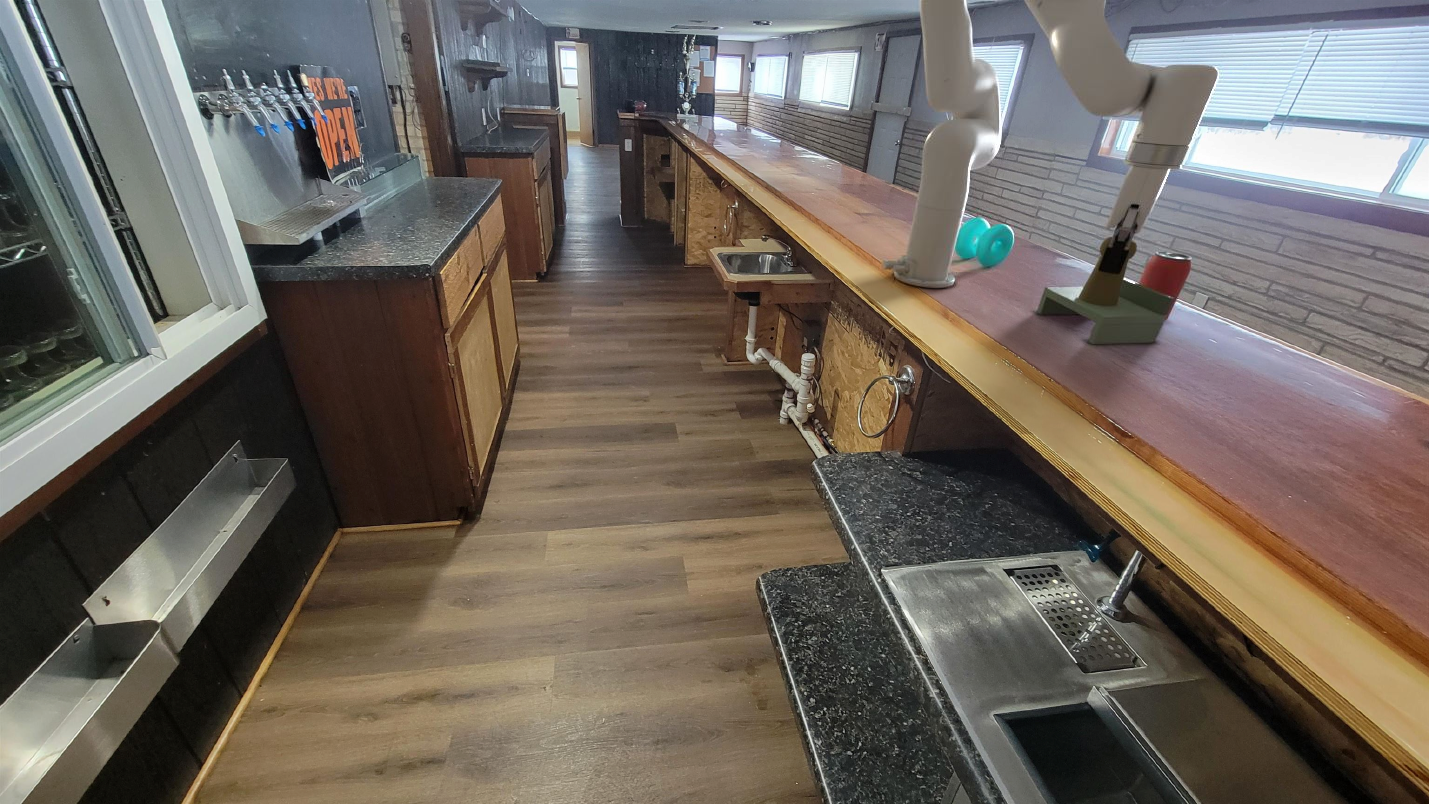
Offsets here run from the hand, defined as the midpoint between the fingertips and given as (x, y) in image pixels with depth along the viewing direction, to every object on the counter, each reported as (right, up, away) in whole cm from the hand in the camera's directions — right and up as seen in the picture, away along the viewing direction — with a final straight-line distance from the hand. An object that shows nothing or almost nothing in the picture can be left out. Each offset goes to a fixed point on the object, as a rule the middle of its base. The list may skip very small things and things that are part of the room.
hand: (1110, 266), depth 97 cm
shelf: (+1, -10, +6) cm, 11 cm away
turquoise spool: (-4, +11, +41) cm, 43 cm away
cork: (0, -5, +3) cm, 6 cm away
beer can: (+15, -7, +11) cm, 20 cm away
